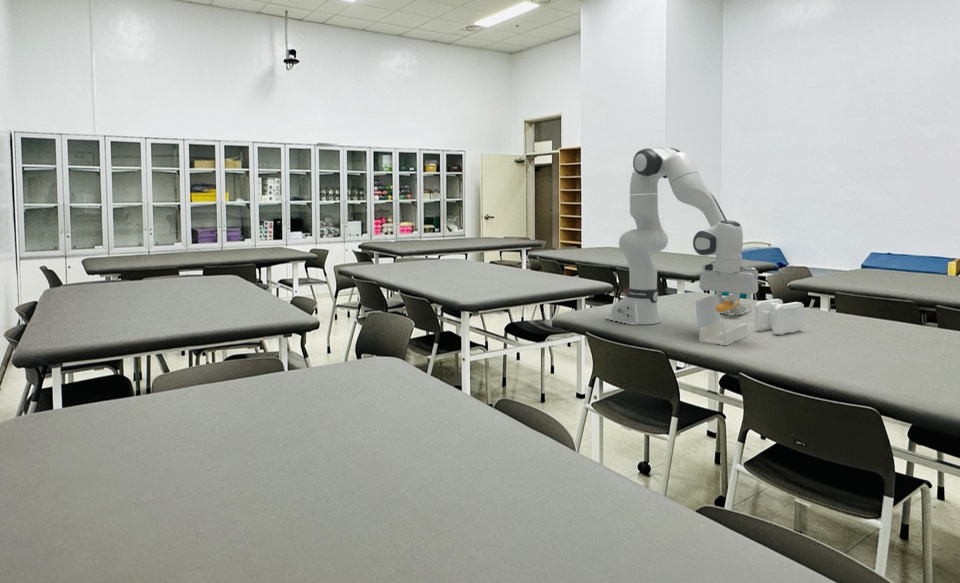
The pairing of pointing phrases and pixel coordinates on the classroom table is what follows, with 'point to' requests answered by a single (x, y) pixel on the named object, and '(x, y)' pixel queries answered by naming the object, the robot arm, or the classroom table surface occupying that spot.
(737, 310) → the skeletal model
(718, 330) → the duct
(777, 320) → the cable organizer
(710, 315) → the cover
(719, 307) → the rod
